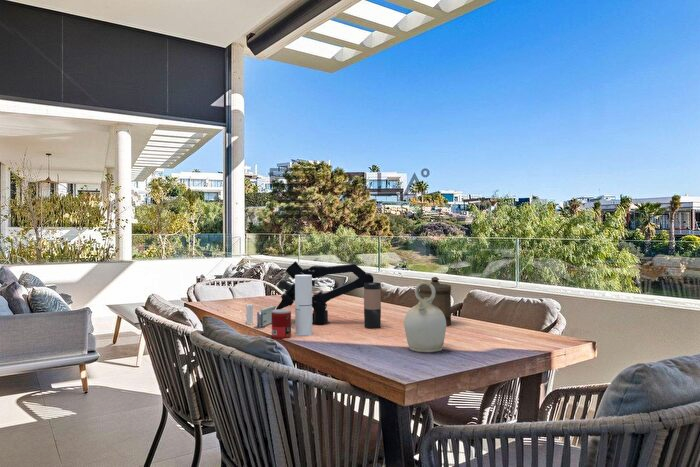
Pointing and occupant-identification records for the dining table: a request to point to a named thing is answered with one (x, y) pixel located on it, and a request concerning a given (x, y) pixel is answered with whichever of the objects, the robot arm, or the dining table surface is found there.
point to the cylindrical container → (303, 305)
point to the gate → (267, 314)
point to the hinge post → (259, 320)
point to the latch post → (249, 313)
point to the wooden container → (439, 297)
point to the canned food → (281, 323)
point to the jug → (425, 324)
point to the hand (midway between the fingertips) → (276, 309)
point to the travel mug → (372, 305)
